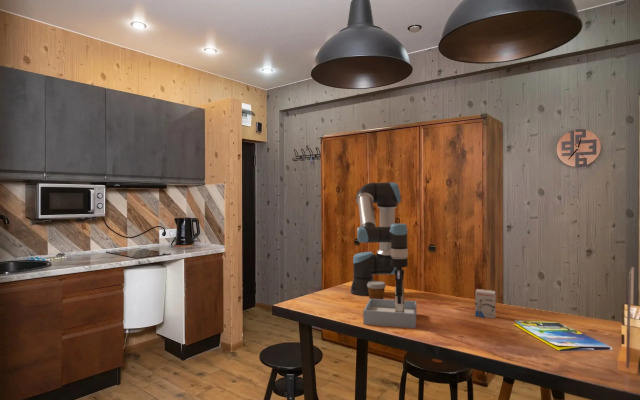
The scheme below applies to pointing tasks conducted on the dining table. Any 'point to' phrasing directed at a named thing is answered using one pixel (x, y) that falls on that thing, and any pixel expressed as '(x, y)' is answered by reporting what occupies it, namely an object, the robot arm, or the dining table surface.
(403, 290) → the beech dowel
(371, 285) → the disposable coffee cup
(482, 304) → the ink box
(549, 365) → the dining table surface
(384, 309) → the socket box
